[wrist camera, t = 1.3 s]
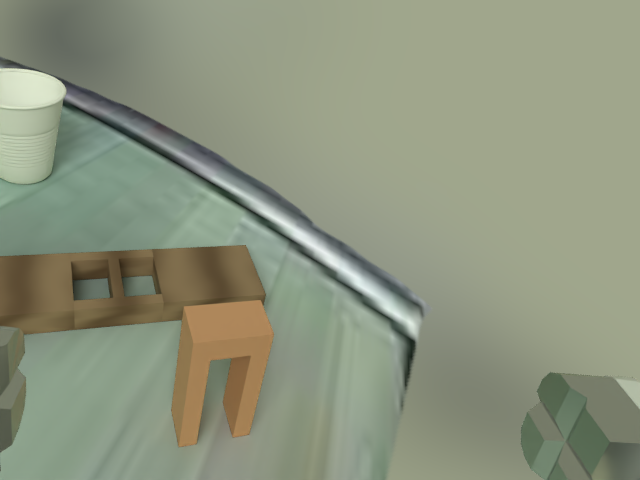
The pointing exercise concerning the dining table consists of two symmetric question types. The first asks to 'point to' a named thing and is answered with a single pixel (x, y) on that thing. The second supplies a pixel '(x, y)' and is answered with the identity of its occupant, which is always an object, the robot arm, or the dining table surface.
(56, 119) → the cup
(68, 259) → the rail
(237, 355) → the clip
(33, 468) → the dining table surface
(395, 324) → the dining table surface
